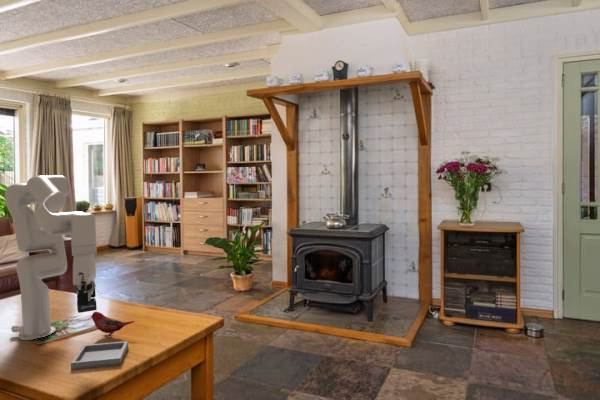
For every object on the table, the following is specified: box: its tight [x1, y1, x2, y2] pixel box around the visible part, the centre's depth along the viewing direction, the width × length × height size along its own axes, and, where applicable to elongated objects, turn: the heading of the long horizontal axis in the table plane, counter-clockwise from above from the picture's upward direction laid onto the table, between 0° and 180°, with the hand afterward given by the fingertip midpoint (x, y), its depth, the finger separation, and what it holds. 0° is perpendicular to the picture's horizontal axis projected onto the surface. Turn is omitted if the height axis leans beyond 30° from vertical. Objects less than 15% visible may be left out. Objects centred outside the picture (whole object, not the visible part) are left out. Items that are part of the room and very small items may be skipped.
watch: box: [76, 281, 98, 314], centre depth 147 cm, size 6×8×11 cm
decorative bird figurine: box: [90, 311, 136, 338], centre depth 168 cm, size 3×18×10 cm, turn 88°
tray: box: [70, 341, 129, 371], centre depth 149 cm, size 15×15×2 cm
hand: (86, 300), depth 147 cm, fingers closed on watch, 8 cm apart
